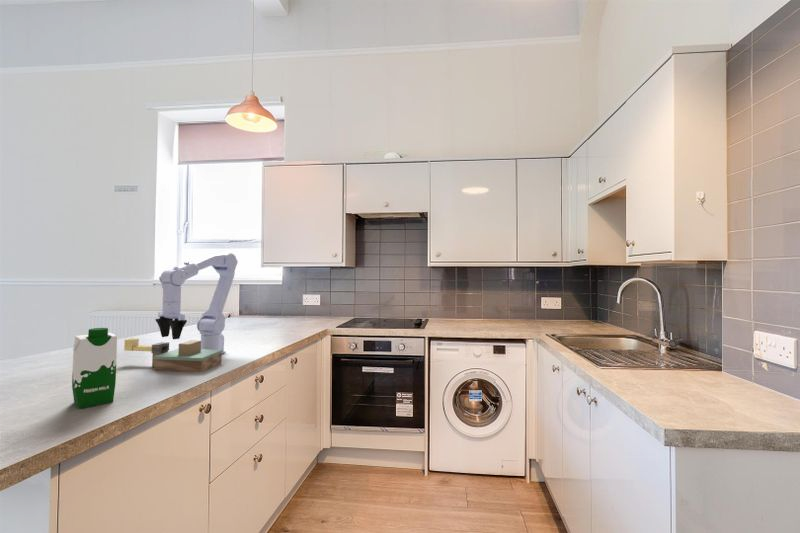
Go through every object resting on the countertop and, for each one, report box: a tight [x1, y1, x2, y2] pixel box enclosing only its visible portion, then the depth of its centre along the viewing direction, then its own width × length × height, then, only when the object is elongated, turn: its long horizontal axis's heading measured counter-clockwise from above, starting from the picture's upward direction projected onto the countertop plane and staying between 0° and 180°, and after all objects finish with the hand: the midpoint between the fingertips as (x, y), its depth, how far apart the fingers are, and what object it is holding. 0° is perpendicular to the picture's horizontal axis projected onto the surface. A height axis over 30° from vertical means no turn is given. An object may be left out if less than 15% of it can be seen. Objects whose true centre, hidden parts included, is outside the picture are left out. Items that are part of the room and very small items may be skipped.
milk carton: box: [71, 327, 118, 410], centre depth 97 cm, size 9×9×20 cm
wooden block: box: [123, 338, 163, 352], centre depth 134 cm, size 3×13×4 cm, turn 87°
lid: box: [154, 339, 223, 361], centre depth 133 cm, size 14×18×5 cm
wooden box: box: [151, 341, 222, 373], centre depth 133 cm, size 13×22×8 cm, turn 87°
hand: (170, 337), depth 134 cm, fingers open, 7 cm apart
